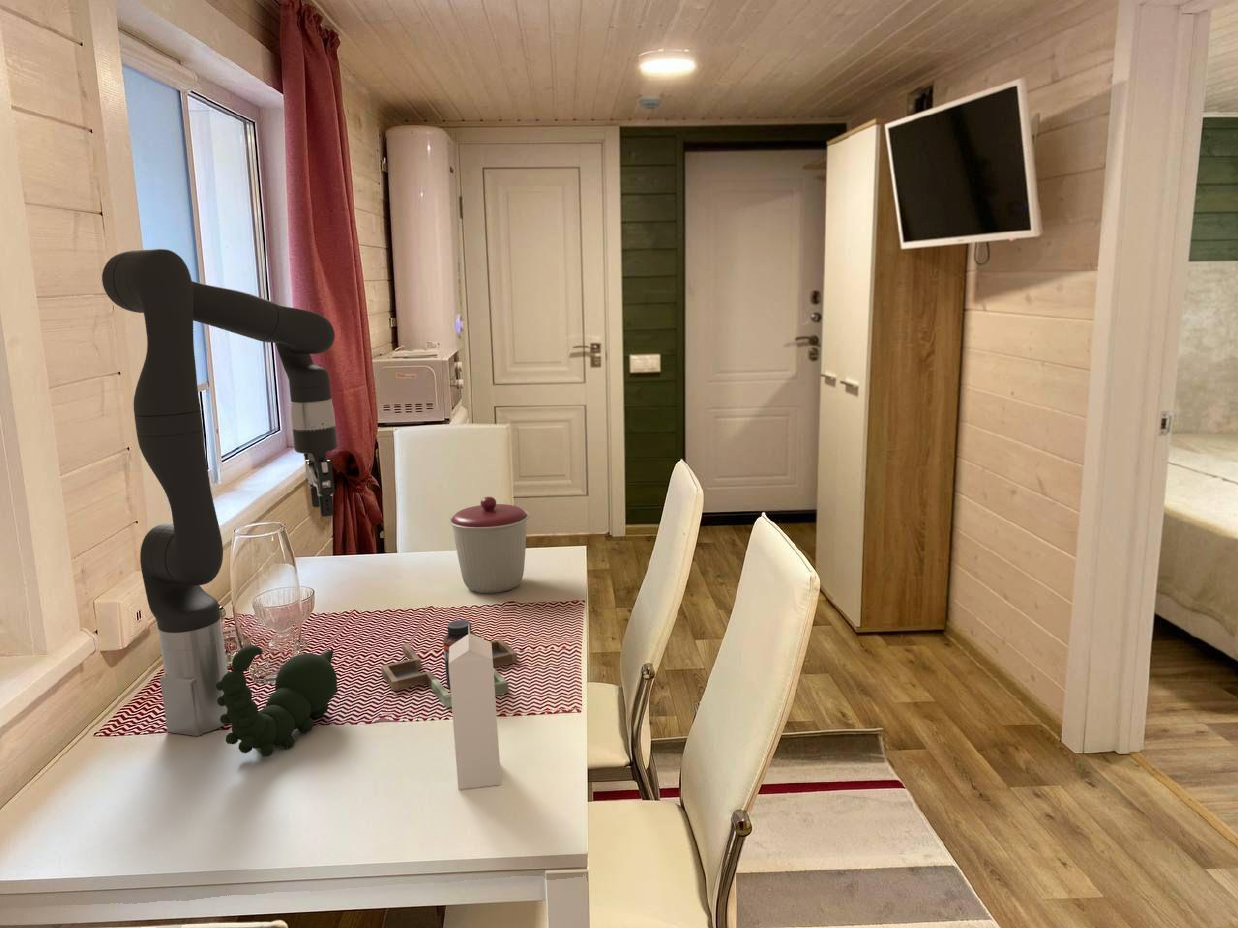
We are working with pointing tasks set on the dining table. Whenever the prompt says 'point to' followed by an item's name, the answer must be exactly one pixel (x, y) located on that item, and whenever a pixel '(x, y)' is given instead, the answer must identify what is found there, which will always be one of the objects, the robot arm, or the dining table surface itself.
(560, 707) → the dining table surface
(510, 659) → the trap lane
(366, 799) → the dining table surface
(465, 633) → the supplement bottle
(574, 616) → the dining table surface
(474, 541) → the canister
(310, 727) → the toy figurine
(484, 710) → the milk
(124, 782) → the dining table surface
